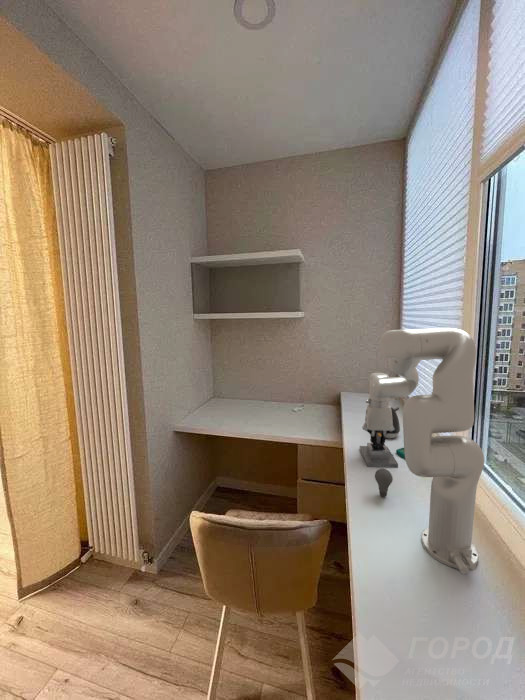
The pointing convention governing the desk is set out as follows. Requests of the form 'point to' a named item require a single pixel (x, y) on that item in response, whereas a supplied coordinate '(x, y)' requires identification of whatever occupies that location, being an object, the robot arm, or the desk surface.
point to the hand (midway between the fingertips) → (377, 443)
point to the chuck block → (378, 456)
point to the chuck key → (378, 440)
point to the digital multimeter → (400, 452)
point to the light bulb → (383, 480)
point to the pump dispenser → (394, 424)
